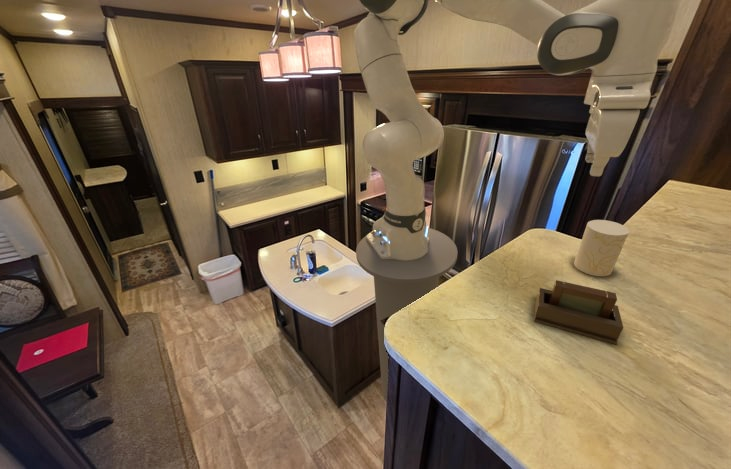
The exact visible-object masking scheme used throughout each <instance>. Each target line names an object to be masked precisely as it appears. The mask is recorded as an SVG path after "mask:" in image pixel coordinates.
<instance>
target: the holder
mask: <svg viewBox="0 0 731 469" xmlns="http://www.w3.org/2000/svg"><path fill="white" fill-rule="evenodd" d="M551 293H552V289H547V288H543V287H539V288H538V291H537V295H536V298H535V306H534V316H533V317H534V318H533V321H534V323H538V324H542V325H545V326H549V327H552V328H555V329H559V330H564V331H566V332H570V333H573V334H577V335H581V336H584V337H587V338H590V339H591V338H592V339H595V340H598V341H602V342H606V343H609V344H613V345H618V339H619V337H620V335H621V333H622V332H623V330H624V325H623V320H622V317H621V312H620V309H619V305H616V304H615V305H614V308H613V310H612V312H611V314H610V316H609V318H608V319H606V318H602V317H598V316H594V315H590V314H586V313H582V312H578V311H574V310H570V309H566V308H562V307H558V306H554V305H550V304H548V302H549V299H550V296H551Z"/></svg>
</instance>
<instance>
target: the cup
mask: <svg viewBox="0 0 731 469" xmlns="http://www.w3.org/2000/svg"><path fill="white" fill-rule="evenodd" d="M629 233H630V230H629V228H628V227H627V226H626V225H623V224H621V223H619V222H615V221H611V220H606V219H593V220H589V221H588V222H587V223H586V226H585V229H584V232H583V235H582V238H581V241H580V244H579V247H578V249H577V251H576V255H575V258H574V261H573V265H574V267H575V268H576V269H577V270H578V271H581V272H582V273H584V274H587V275H590V276H594V277H608V276H610V275H611V274H612V273H613V271H614V268H615V266H616V264H617V262H618V259H619V257H620V254H621V252H622V250H623V247H624V246H625V242H626V240H627V238H628V235H629Z"/></svg>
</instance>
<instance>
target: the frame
mask: <svg viewBox="0 0 731 469" xmlns="http://www.w3.org/2000/svg"><path fill="white" fill-rule="evenodd" d="M551 290H552V293H551V296H550V299H549V302H548V304H550V305H554V306H558V307H562V308H566V309H570V310H574V311H578V312H582V313H586V314H590V315H594V316H598V317H602V318H606V319H608V318H609V316H610V314H611V312H612V310H613V308H614V305H616V303H617V302H618V296H617V294H616V292H612V291H607V290H603V289H599V288H594V287H590V286H586V285H582V284H581V285H580V284H576V283H571V282H566V281H562V280H557V279H555V280H554V283H553V287H552V289H551Z"/></svg>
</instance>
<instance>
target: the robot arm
mask: <svg viewBox="0 0 731 469" xmlns="http://www.w3.org/2000/svg"><path fill="white" fill-rule="evenodd" d="M434 1H435V2H436V3H438V4H439V5H440V6H442V7H443V8H445V9H447V11H449V12H451V13H453V14H455V15H457V16H460V17H462V18H465V19H468V20H472V21H476V22H484V23H488V24H489V23H490V24H494V25H499V26H502V27H504V28H507V29H510V30H512V31H513V32H515V33H516V34H518V35H520V36H521V37H523V38H524V39H526V40H528V41H529V42H530V43H533V44H534V45H535V46H537V51H536V57H537V62H538V63H539V66H540V67H541V69H543V70H544V71H545V72H547V73H549V74H551V75H553V76H573V75H577V74H581V73H583V72H585V71H587V70H591V74H590V77H589V82H588V86H587V89H586V92H585V96H584V101H583V104H584V105H588V106H590V107H589V108H590V109H589V111H588V113H589V114H590V115H589V118H588V122H587V125H586V128H585V136H586V139H587V142H588V143H587V149H586V150H587V151H586V154H585V159H584V160H585V162H586V163H587V164H591V166H590V170H589V176H591V177H601V176H602V175H603V173H604V169H605V168H606V166H607V164H608V163H609V161H610V159H611V158H619V157H620V156H621V155H622V153H623V151H624V150H625V148H626V146H627V144H628V142H629V140H630V138H631V135H632V133H633V131H634V129H635V126H636V124H637V122H638V119H639V116H640V113H641V109H642V110H644V109H646V108H647V107H648V105H649V102H650V100H651V97H652V96H651V94H652V93H651V89H652V86H653V82H654V79H655V77H656V74H657V71H658V60H659V56H660V55H661V52H662V50H663V48H664V47H665V45H666V44H667V43H668V41H669V39H670V35H671V33H672V30H673V26H674V23H675V21H676V17H677V15H678V14H677V13H678V11H679V7H680V3H681V0H596V1H593V2H591V3H589V4H588V5H586V6H583V7H582V8H579V9H577V10H574V11H572V12H570V13H568V14H566V13H564V12H562V11H560V10H558V9H556V8H555V7H553V6H551V5H550V4H549V3H547V2H545V1H543V0H434ZM359 2H360V4H361V5H362V6H363V7H364V8H365V9H366V10H367V11H368V14H367V15H366V17H364V18H363V19H361V20H360V21H359V22H358V23H357V25H356V27H355V29H354V32H353V42H354V43H353V44H354V50H355V54H356V59H357V64H358V67H359V71H360V75H361V78H362V80H363V84H364V87H365V91H366V94H367V96H368V99H369V103H370V104H371V106H372V107H373V108H374V109H376V110H377V111H379V112H381V113H382V114H383V115H384V116H386V118H387V119H388V120H389V122H386V123H382V124H379V125H378V126H375V127H374V128H372V129H370V130H369V131H367V132H366V133H365V135H364V137H363V140H362V155H363V157H364V159H365V161H366V162H367V164H368V165H369V166H371V167H372V168H373V169H375V170H377V172H379V175H380V176H381V178H382V180H383V184H384V190H385V199H386V200H385V202H386V205H385V206H382V211H384V212H383V215H382V217H380V218H379V219H377V220H376V221H374V223H373V224H372V231H370V232H369V233H367V234H366V235H365V236H366V239H367V240H368V242H369V243H370V244H371V246H372V247H373V248H374V250H375V251H376V252H377V254H378V255H379V256H380V258H382V259H395V260H402V261H409V260H415V259H419V258H421V257H423V256H424V255H426V253H427V252H428V242H429V237H427V231H428V228H429V225H427V220H426V216H427V211H426V206H425V194H426V193H425V192H426V191H425V190H426V185H425V182H424V180H423V179H422V178H421V177H420V176H418V175H416V173H415V169H414V161H417V160H419V159H420V160H421V159H423V158H426V157H428V156H430V155H431V154H432V153H434V152H435V151H437V150H438V149H439V148H441V146H442V144H443V141H444V138H445V130H444V127H443V124H442V123H441V121H440V120H438V118H437V117H434V116H433V114H431V113H429V111H428V110H427V109H426V108H425V107H424V105H423V104H422V102H421V101H420V99H419V97H418V95H417V94H416V92H415V89H414V88H413V85H412V82H411V79H410V76H409V73H408V69H407V66H406V64H405V60H404V56H403V53H402V49H401V47H400V43H399V36H403V35H405V34H406V33H407V32H408V31H409V30H410V29H411V27H413V26H415V25H416V24H417V23H418V22H419V21H420V20H421V19H422V17H424V15H425V13H426V11H427V9H428V5H429V0H359ZM426 227H427V228H426Z"/></svg>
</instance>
